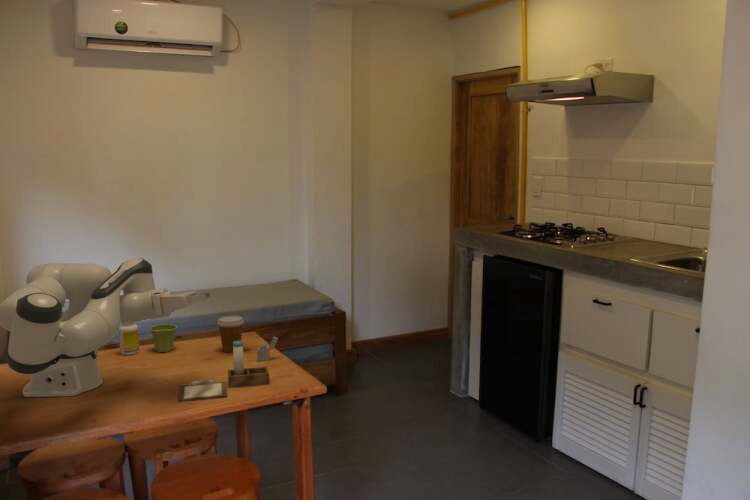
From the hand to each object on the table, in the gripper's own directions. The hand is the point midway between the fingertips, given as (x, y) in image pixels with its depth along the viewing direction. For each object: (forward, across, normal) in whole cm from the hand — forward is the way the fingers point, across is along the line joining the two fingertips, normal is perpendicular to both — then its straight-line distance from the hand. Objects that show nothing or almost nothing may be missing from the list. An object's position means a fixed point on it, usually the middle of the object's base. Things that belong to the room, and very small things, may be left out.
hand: (207, 296), depth 195 cm
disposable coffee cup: (-1, -40, -23) cm, 47 cm away
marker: (+4, -7, -29) cm, 30 cm away
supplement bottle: (-37, -41, -18) cm, 58 cm away
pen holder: (+7, -7, -30) cm, 31 cm away
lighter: (+12, -29, -27) cm, 41 cm away
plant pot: (-26, -43, -20) cm, 54 cm away
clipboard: (-6, 0, -29) cm, 29 cm away
